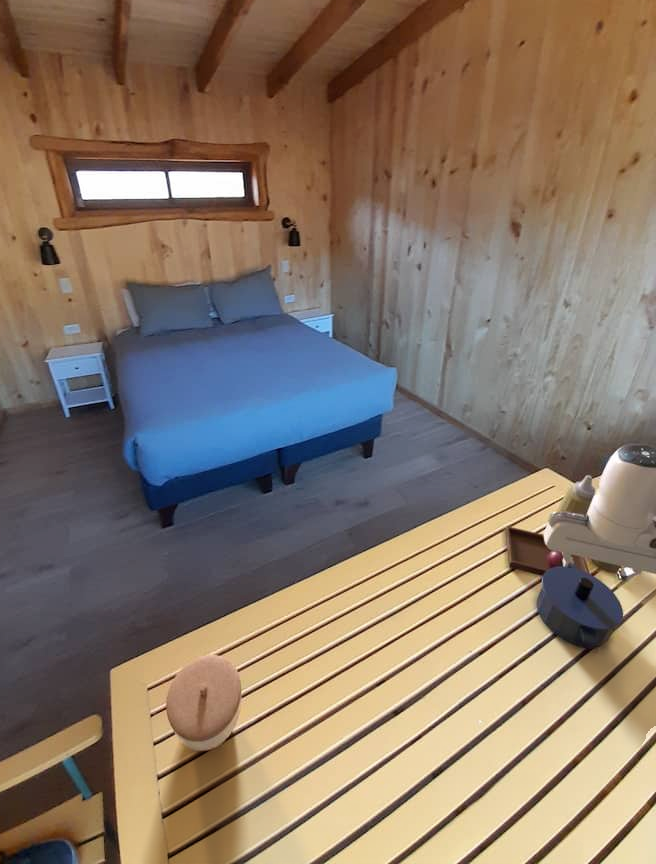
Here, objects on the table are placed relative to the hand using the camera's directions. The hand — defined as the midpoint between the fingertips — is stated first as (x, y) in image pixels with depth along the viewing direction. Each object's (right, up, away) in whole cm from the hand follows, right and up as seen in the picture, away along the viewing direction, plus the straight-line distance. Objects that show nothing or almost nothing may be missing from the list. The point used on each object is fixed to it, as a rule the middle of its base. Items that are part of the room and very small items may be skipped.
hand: (594, 571), depth 81 cm
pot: (0, -13, +7) cm, 15 cm away
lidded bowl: (-76, -23, -9) cm, 80 cm away
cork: (+17, -7, +19) cm, 26 cm away
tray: (+3, -6, +21) cm, 22 cm away
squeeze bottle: (+15, -2, +29) cm, 33 cm away
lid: (0, -7, +4) cm, 8 cm away
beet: (+3, -4, +18) cm, 19 cm away
